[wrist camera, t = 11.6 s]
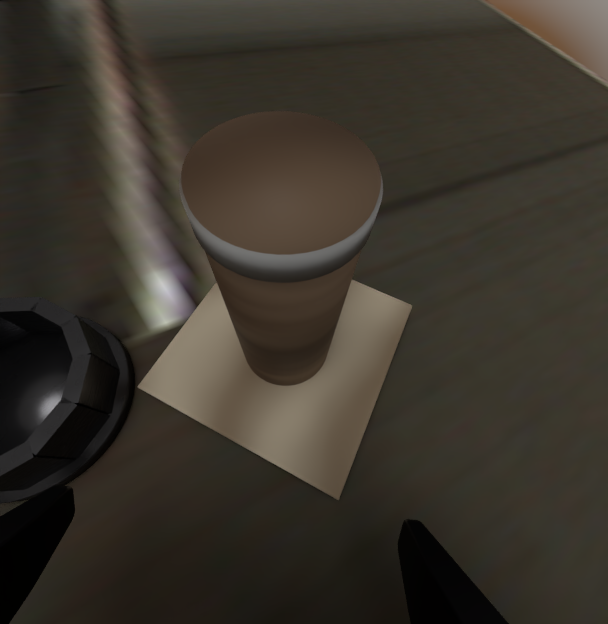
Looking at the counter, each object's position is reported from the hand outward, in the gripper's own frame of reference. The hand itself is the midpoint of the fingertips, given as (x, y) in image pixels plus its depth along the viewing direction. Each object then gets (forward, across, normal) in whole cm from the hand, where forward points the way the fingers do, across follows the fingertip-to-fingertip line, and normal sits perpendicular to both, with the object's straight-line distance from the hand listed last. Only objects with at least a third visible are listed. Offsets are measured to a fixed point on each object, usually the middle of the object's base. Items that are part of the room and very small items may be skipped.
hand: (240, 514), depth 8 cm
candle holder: (+9, +13, +4) cm, 16 cm away
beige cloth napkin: (+12, -1, 0) cm, 12 cm away
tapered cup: (+11, -1, -1) cm, 11 cm away
